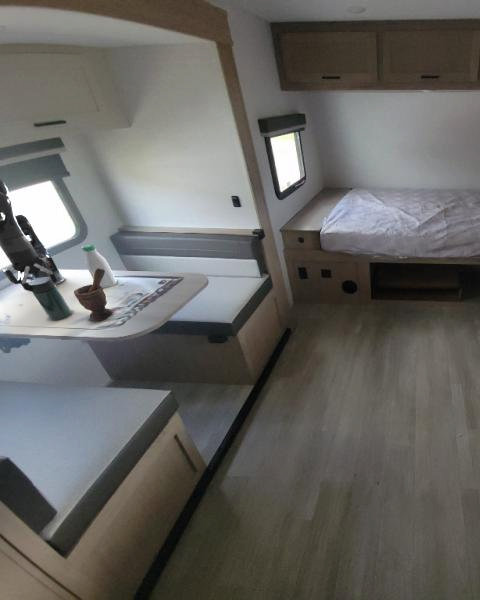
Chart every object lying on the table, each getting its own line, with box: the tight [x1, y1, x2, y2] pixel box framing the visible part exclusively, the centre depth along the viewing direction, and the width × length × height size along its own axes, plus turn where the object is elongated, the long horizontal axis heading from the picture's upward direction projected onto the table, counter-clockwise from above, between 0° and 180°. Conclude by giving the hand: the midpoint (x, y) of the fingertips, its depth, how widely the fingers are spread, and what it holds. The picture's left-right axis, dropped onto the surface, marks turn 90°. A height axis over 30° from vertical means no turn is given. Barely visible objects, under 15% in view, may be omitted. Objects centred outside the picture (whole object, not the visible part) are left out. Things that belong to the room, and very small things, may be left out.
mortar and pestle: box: [73, 268, 113, 322], centre depth 135 cm, size 12×9×20 cm
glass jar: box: [31, 285, 73, 321], centre depth 135 cm, size 7×7×16 cm
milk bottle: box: [81, 244, 117, 289], centre depth 156 cm, size 8×8×20 cm
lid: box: [27, 277, 56, 294], centre depth 131 cm, size 7×7×3 cm
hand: (42, 286), depth 131 cm, fingers closed on lid, 7 cm apart
